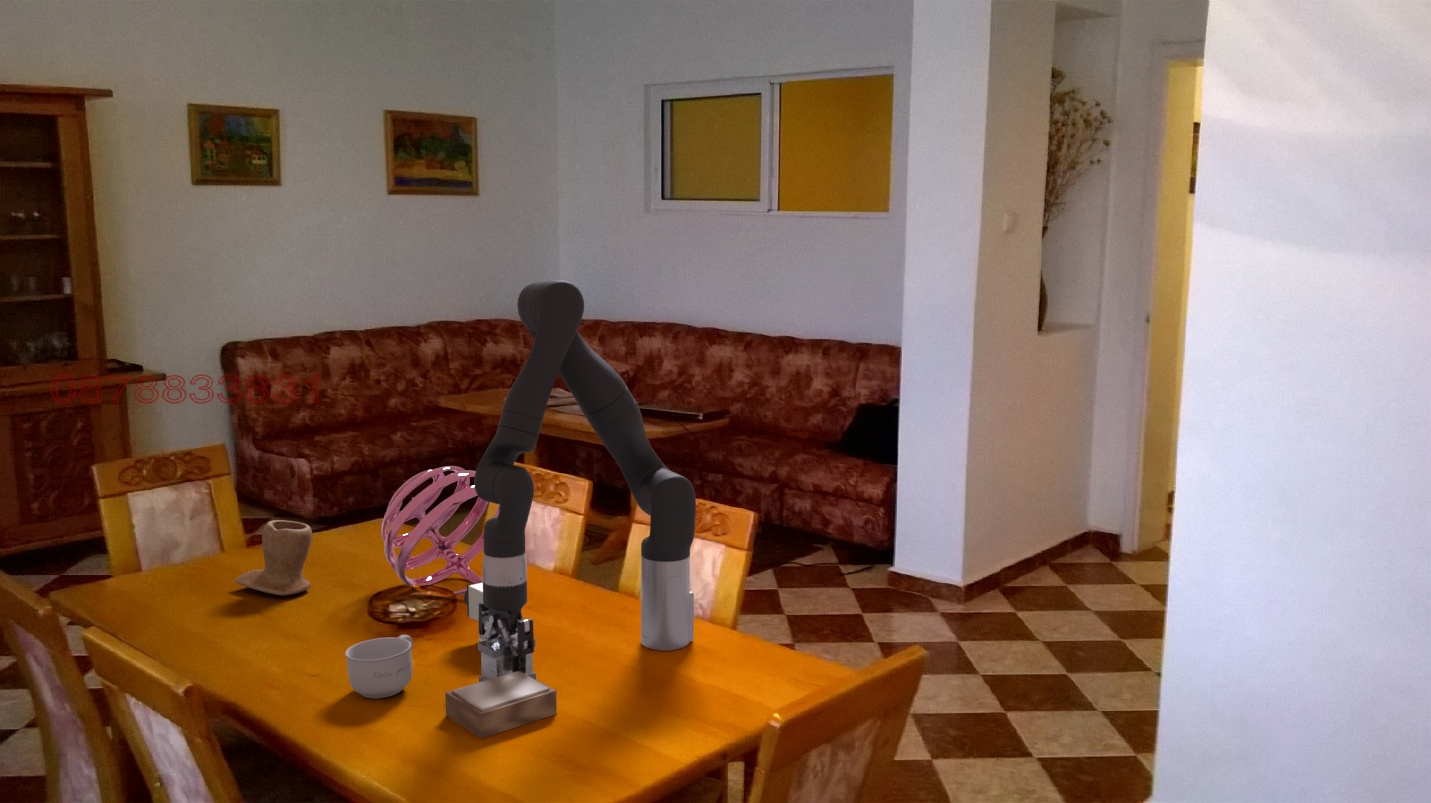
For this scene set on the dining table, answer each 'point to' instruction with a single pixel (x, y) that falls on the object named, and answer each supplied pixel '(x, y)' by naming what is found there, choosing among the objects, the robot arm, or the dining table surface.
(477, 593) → the pneumatic valve
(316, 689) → the dining table surface
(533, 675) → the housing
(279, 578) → the brown top hat
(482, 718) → the stand
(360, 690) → the teacup
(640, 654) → the dining table surface
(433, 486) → the spiral basket
